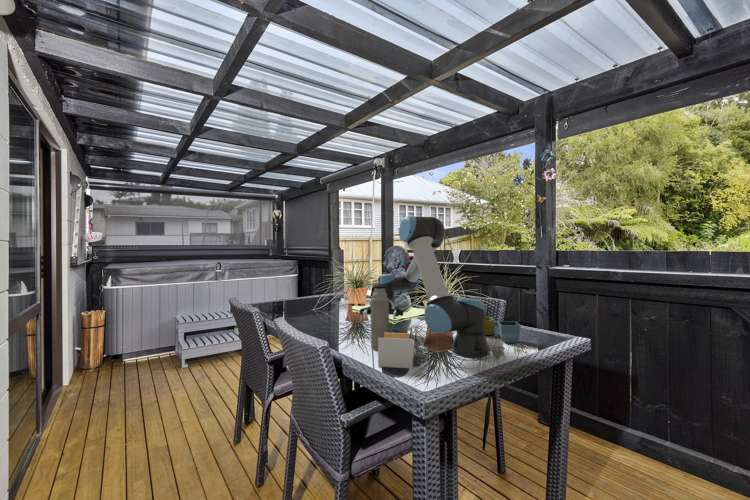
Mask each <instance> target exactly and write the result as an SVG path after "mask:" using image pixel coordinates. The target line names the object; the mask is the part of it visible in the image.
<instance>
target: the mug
mask: <svg viewBox="0 0 750 500" xmlns="http://www.w3.org/2000/svg"><path fill="white" fill-rule="evenodd" d="M494 334H495V322H494V318H493V317H491V316H485V335H486V336H487V335H491V336H493V335H494Z"/></svg>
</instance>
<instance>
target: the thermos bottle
mask: <svg viewBox="0 0 750 500" xmlns="http://www.w3.org/2000/svg"><path fill="white" fill-rule="evenodd" d="M373 288H374V290H373V292H372V297H371V298H370V306H371V314H370V329H371V334H370V335H371V336H370V337H371V339H370V341H371V342H370V343H371V346H370V347H371V350H373V351H378V338H384V333H390V327H389V326H390V325H389V324H390V323H389V321H390V314H389V298H387V296H388V295H387V293H386V292H385V286H380V285H374V287H373Z"/></svg>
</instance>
